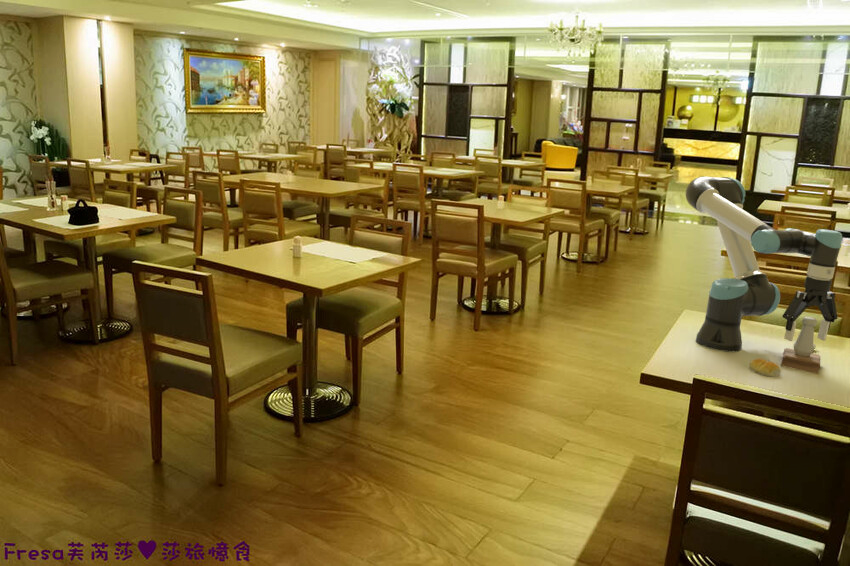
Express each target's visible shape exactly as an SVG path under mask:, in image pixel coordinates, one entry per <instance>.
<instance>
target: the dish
mask: <svg viewBox="0 0 850 566" xmlns="http://www.w3.org/2000/svg"><path fill="white" fill-rule="evenodd" d="M796 341H797V339H796V340H794V341H793V345H795V343H796ZM793 345H792V346H793ZM816 346H817V345H816V344H815V343H813V350H814V349H815V350H816Z"/></svg>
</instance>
